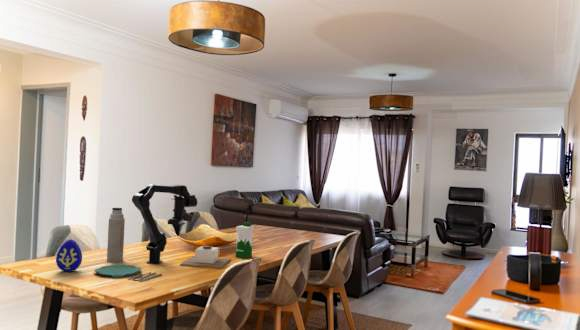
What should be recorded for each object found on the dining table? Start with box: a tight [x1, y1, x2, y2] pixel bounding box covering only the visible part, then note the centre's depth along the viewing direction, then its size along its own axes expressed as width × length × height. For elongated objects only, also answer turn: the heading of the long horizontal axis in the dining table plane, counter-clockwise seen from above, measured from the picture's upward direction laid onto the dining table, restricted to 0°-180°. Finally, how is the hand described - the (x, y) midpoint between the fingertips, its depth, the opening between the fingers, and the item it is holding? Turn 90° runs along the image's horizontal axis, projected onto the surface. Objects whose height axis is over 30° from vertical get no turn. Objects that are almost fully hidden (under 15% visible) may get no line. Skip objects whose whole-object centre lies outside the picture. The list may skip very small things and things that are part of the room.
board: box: [179, 255, 232, 269], centre depth 253 cm, size 22×22×1 cm
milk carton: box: [234, 221, 255, 259], centre depth 274 cm, size 9×9×20 cm
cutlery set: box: [93, 264, 163, 283], centre depth 220 cm, size 20×30×2 cm, turn 65°
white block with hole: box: [194, 245, 219, 263], centre depth 253 cm, size 10×10×7 cm
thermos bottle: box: [106, 207, 126, 263], centre depth 248 cm, size 8×8×28 cm
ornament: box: [55, 239, 83, 273], centre depth 221 cm, size 11×9×15 cm
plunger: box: [202, 245, 213, 249], centre depth 253 cm, size 5×5×7 cm
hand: (178, 235), depth 259 cm, fingers closed
